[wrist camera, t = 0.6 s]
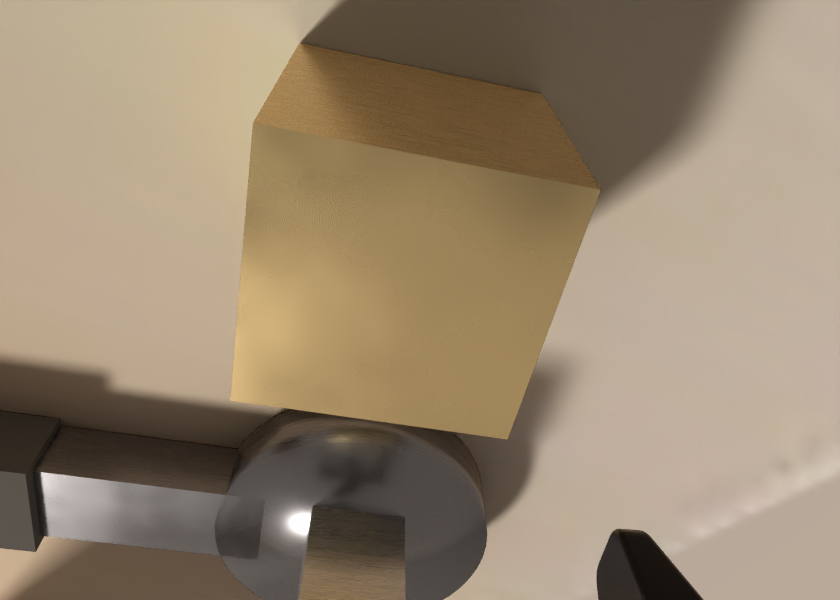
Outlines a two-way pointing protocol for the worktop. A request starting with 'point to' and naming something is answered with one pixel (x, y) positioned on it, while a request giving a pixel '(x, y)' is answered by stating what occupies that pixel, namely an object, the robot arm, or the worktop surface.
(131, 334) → the worktop surface
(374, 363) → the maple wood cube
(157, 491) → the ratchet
